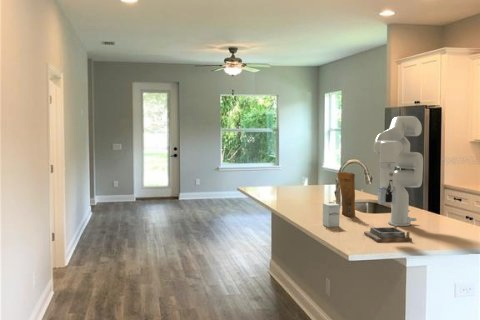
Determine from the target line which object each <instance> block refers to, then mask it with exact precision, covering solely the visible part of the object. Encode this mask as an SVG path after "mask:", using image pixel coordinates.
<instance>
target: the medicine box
mask: <svg viewBox="0 0 480 320" xmlns="http://www.w3.org/2000/svg"><path fill="white" fill-rule="evenodd" d="M377 187H378V188H377V203H378V205H391V204H396V188H394V190H393V192H392V202H386V188H384V187H381V186H377ZM388 188H390V187H388ZM388 190H390V189H388Z"/></svg>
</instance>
